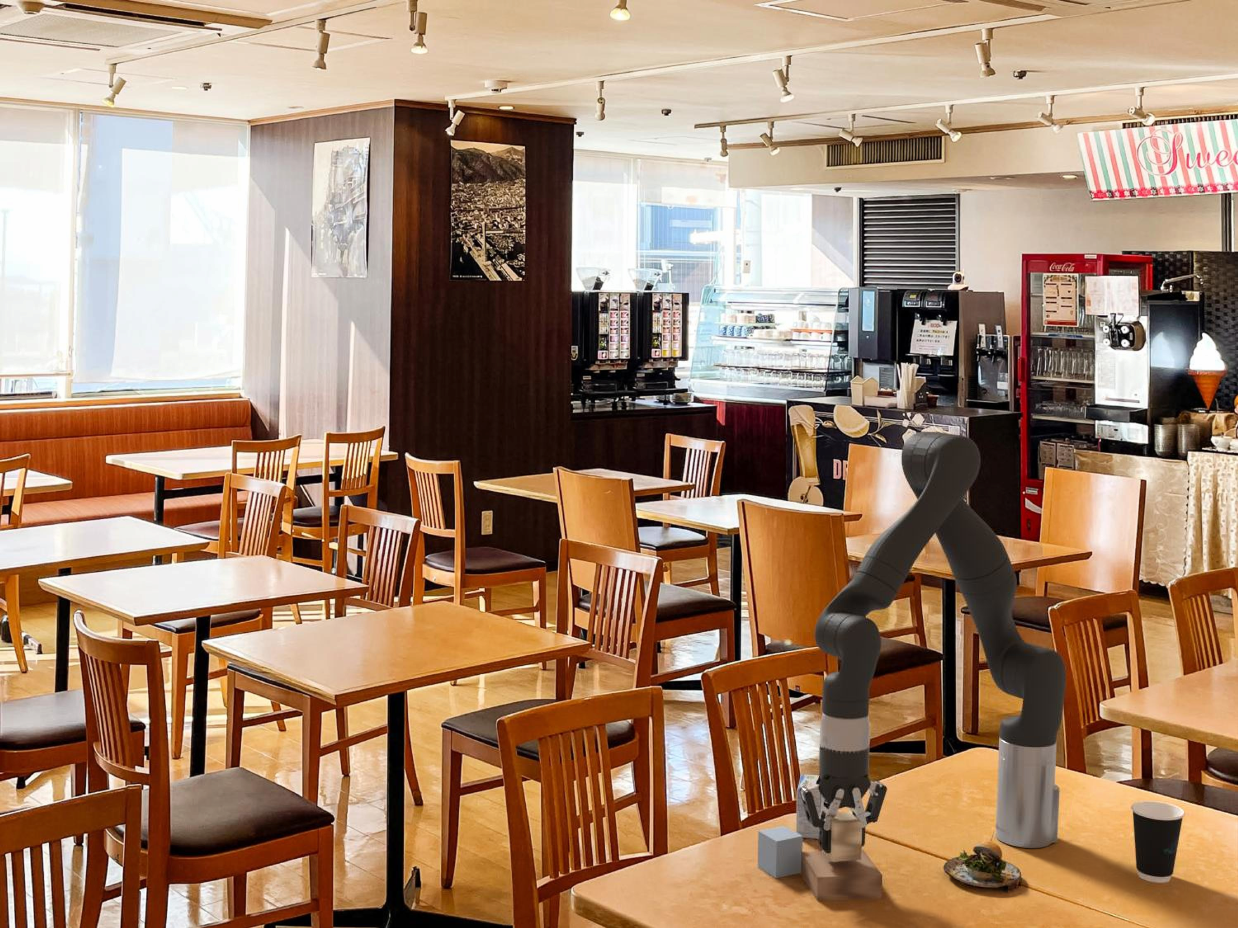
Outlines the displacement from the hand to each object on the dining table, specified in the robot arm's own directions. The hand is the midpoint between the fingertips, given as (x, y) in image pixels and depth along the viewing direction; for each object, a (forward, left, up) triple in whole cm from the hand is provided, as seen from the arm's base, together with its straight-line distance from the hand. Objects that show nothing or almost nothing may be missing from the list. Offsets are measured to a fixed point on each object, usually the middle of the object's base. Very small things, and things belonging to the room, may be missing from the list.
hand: (841, 849), depth 215 cm
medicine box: (-4, -23, -6) cm, 24 cm away
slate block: (+7, -8, -6) cm, 12 cm away
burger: (-23, +2, -6) cm, 24 cm away
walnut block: (0, 0, -6) cm, 6 cm away
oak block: (0, 0, -1) cm, 1 cm away
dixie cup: (-50, +7, -6) cm, 51 cm away
